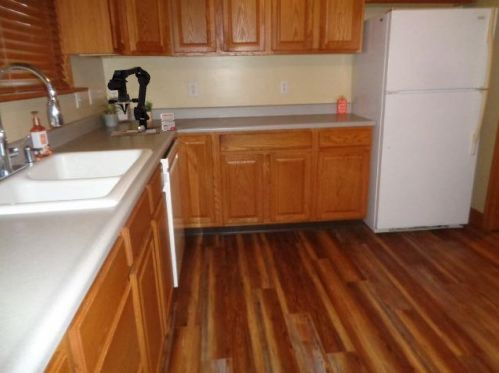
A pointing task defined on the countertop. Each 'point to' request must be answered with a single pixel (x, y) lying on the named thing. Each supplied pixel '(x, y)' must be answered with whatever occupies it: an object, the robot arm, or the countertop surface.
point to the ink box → (167, 121)
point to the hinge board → (141, 132)
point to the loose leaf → (134, 130)
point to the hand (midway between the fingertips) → (125, 114)
